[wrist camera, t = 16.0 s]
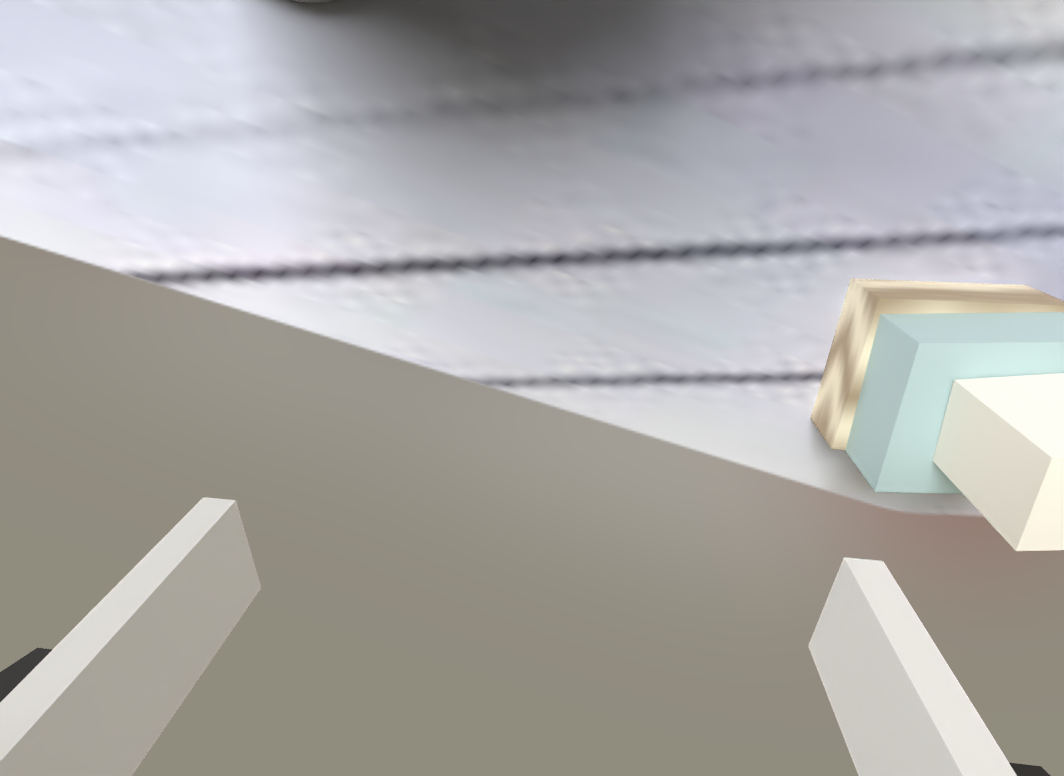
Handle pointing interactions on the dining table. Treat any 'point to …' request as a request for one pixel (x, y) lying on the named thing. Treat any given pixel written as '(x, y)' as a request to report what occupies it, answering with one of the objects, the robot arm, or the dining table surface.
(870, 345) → the tower base slab
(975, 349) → the tower top slab
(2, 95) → the dining table surface
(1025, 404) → the cream block
